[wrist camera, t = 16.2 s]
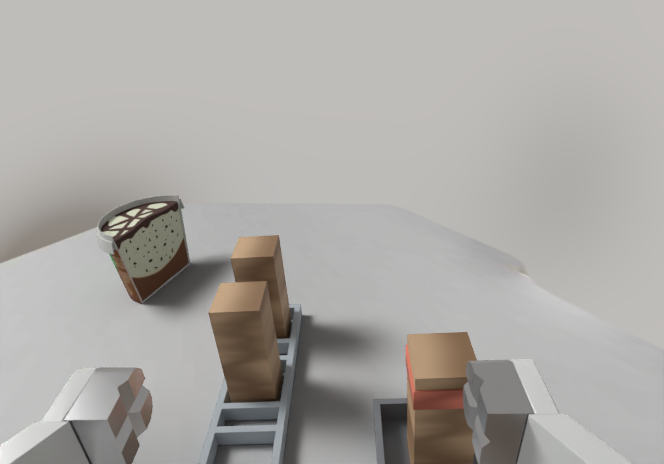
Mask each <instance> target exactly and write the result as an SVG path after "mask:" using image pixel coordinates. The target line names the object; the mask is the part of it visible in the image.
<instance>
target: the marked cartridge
mask: <svg viewBox="0 0 664 464" xmlns="http://www.w3.org/2000/svg"><path fill="white" fill-rule="evenodd" d="M468 361H477V360H476V357H475V354H474V351H473V348H472V345H471V342H470V339H469V336H468V333H467V332H457V333H433V334H408V335H407V345H406V366H407V444H408V452H409V459H410V464H473V457H474V448H473V444H472V436H473V430H472V429H471V428H470V427H469V426H468V425H467V422H466V418H465V413H464V408H463V388H464V385H465V384H466V383H467V382H468V380H467V376H466V373H465V372H466V365H467V363H468Z"/></svg>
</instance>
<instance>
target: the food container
mask: <svg viewBox="0 0 664 464" xmlns="http://www.w3.org/2000/svg"><path fill="white" fill-rule="evenodd" d="M181 208H184V206H183V203H182V201H181V199H179V197H178V195H159V196H151V197H146V198H142V199H138V200H134V201H131V202H128V203H126V204H123V205H121V206H118V207H116V208H114V209H113V210H111V211H110V212H108V213H107V214H105V215H104V216H103V217H102V218H101V219H100V221H99V222H98V228H97V238H98V246H99V247H100V249H102V250H103V251H104V252H107V253H109V254H110V257H111V259H112V261H113V263H114V265H115V267H116V269H117V271H118V273H119V275H120V277H121V279H122V281H123V284H124V286H125V288H126V290H127V292H128V294H129V296H130V297H131V299H132V300H134V301H135V302H137V303H140V304H143V303H144V302H145V301H146V300H148V299H149V298H150V297H151V296H152V295H154V294H155V293H156V292H157V291H159V290H160V289H161V288H162V287H163V286H165V285H166V284H167V283H168V282H169V281H171V280H172V279H173V278H174V277H176V276H177V275H178V274H179V273H180V272H182V271H183V270H184V269H185V268H186V267H188V266H189V265H190V259H189V253H188V247H187V242H186V236H185V230H184V224H183V218H182V212H181Z"/></svg>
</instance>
